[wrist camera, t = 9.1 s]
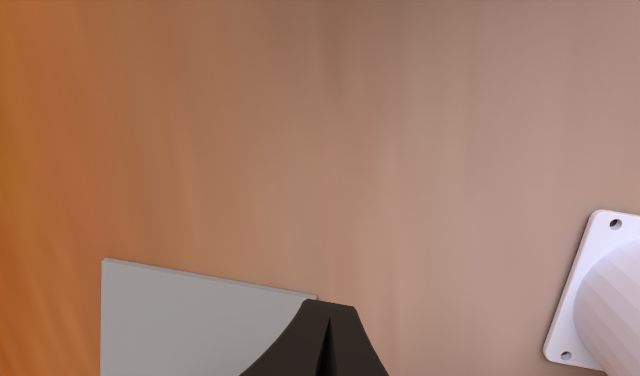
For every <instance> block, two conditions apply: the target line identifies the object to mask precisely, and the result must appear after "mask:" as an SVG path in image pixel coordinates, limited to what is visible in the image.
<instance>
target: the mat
mask: <svg viewBox="0 0 640 376" xmlns="http://www.w3.org/2000/svg"><path fill="white" fill-rule="evenodd" d="M316 298H317V295H312V294H306V293H301V292H295V291H290V290H284V289H279V288H273V287H268V286H262V285H256V284H251V283H245V282H240V281H234V280H229V279H223V278H218V277H212V276H206V275H201V274H195V273H190V272H184V271H179V270H173V269H168V268H162V267H156V266H151V265H145V264H140V263H134V262H129V261H123V260H118V259H112V258H105V259H103V260H102V287H101V371H100V376H239V375H240V374H241V373H242V372H244V371H245V370H246V369H247V368H248V367H249V366H251V365H252V364H253V363H254V362H255V361H256V360H257V359H258V358H259V357H260V356H261V355H262V354H263V353H264V352H265V351H266V350H267V349H268V348H269V347H270V346H271V345H272V344H273V343H274V342H275V340H276V339H277V338H278V337H279V336H280V335H281V333H282V332H283V331H284V330H285V328H286V327H287V326H288V325H289V323H290V322H291V321H292V319H293V318H294V316H295V315H296V313H297V312H298V310H299V308H300V306H301V304H302V302H303V301H304V300H306V299H313V300H316Z"/></svg>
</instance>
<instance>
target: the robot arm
mask: <svg viewBox="0 0 640 376" xmlns="http://www.w3.org/2000/svg"><path fill="white" fill-rule="evenodd" d="M614 219H617V223H616V225H614V226H613V227H610V223H611V221H612V220H614ZM565 351H568V353H567V354H565V355H561V354H562V353H563V352H565ZM543 353H544V355H545V357H546V358H547V359H548V360H549V361H551V362H556V363H561V364H567V365H572V366H578V367H583V368H589V369H594V370H600V371H605V373H606V374H607V375H608V376H640V216H639V215H633V214H627V213H621V212H615V211H610V210H597V211H595V212H594V213H593V214H592V215H591V216H590V218H589V221H588V223H587V226H586V229H585V232H584V235H583V237H582V240H581V243H580V246H579V249H578V251H577V254H576V257H575V260H574V263H573V265H572V268H571V271H570V274H569V277H568V279H567V282H566V285H565V288H564V291H563V293H562V296H561V299H560V302H559V305H558V307H557V310H556V313H555V316H554V319H553V321H552V324H551V327H550V330H549V333H548V335H547V338H546V341H545V344H544V347H543ZM239 376H389V375H388V373H387V371H386V370H385V368H384V366H383V365H382V363H381V361H380V359H379V358H378V356H377V354H376V352H375V350H374V348H373V347H372V345H371V343H370V341H369V339H368V337H367V334H366V332H365V330H364V328H363V326H362V323H361V321H360V318H359V316H358V313H357V311H356V309H355V308H354V307H353V306H347V305H341V304H336V303H330V302H324V301H319V300H313V299H306V300H304V301H303V302H302V304H301V306H300V308H299V310H298V312H297V313H296V315H295V316H294V318H293V319H292V321H291V322H290V323H289V325H288V326H287V327H286V328H285V330H284V331H283V332H282V333H281V335H280V336H279V337H278V338H277V339H276V340H275V342H274V343H273V344H272V345H271V346H270V347H269V348H268V349H267V350H266V351H265V352H264V353H263V354H262V355H261V356H260V357H259V358H258V359H257V360H256V361H255V362H254V363H253V364H252V365H251V366H249V367H248V368H247V369H246V370H245V371H244V372H242V373H241V374H240V375H239Z"/></svg>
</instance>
